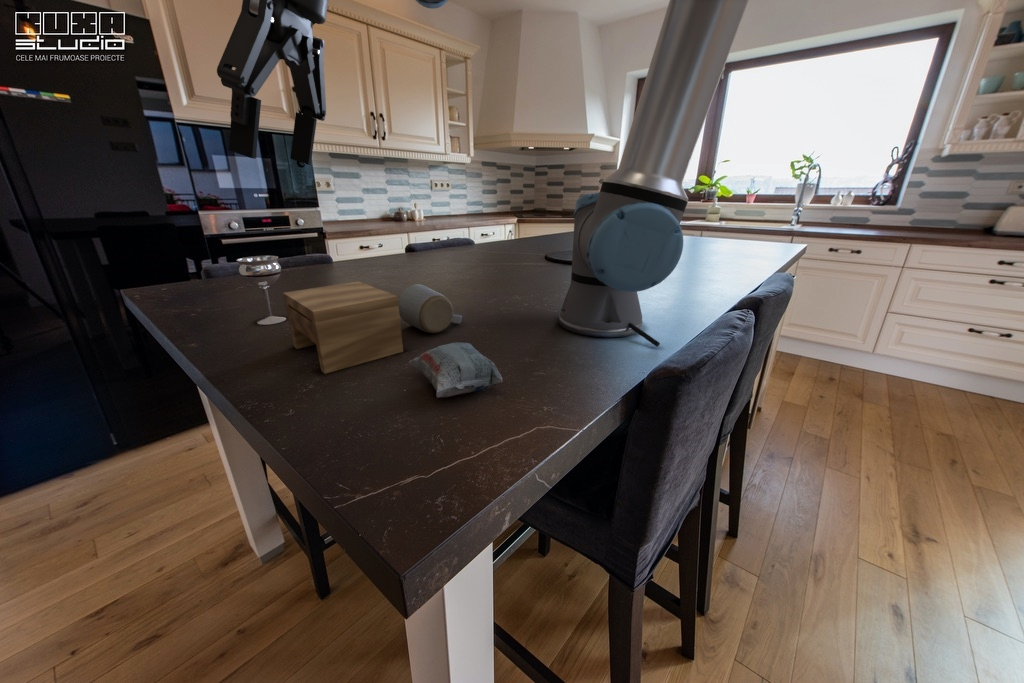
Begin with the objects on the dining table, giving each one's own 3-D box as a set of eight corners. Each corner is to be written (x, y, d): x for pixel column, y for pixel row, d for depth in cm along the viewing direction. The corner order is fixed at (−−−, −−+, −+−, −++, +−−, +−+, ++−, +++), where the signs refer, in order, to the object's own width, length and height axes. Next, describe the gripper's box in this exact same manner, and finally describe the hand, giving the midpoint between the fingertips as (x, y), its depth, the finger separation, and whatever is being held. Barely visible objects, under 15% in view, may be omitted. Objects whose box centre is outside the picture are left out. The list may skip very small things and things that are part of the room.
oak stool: (403, 351, 62) (397, 296, 59) (324, 374, 55) (313, 311, 51) (365, 330, 72) (358, 281, 69) (294, 346, 64) (282, 292, 61)
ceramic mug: (421, 339, 67) (418, 295, 64) (398, 328, 73) (395, 286, 70) (471, 327, 74) (470, 286, 71) (446, 317, 79) (445, 279, 77)
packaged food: (437, 414, 45) (435, 374, 43) (409, 374, 54) (406, 341, 53) (505, 397, 49) (505, 360, 47) (467, 363, 58) (467, 331, 57)
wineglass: (268, 314, 81) (254, 255, 76) (298, 316, 80) (286, 256, 75) (242, 325, 74) (226, 261, 70) (275, 326, 73) (261, 262, 69)
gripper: (314, 4, 58) (295, 156, 65) (176, -122, 34) (171, 137, 42) (364, 24, 58) (340, 172, 66) (264, -86, 35) (243, 162, 42)
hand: (274, 159), depth 54 cm, fingers open, 13 cm apart
